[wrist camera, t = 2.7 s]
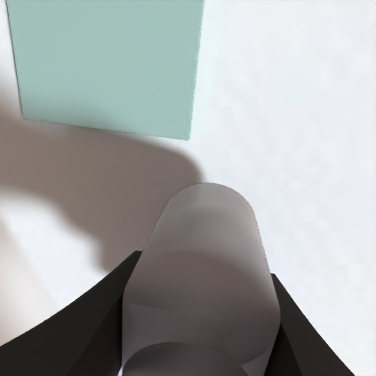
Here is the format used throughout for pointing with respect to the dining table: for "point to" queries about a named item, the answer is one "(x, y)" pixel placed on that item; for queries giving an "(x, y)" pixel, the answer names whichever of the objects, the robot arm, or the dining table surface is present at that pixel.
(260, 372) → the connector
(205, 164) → the dining table surface
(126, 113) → the mat
